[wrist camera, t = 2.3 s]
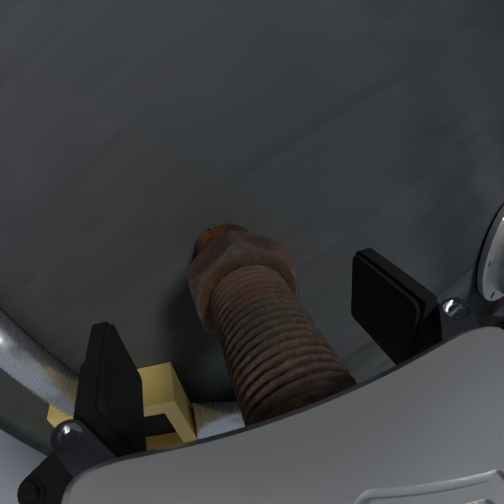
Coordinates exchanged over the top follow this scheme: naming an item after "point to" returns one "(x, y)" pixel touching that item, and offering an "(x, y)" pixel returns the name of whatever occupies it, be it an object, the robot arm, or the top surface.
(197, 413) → the shaft
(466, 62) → the top surface
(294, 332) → the bolt
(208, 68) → the top surface
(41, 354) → the shaft
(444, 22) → the top surface
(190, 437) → the yoke socket
